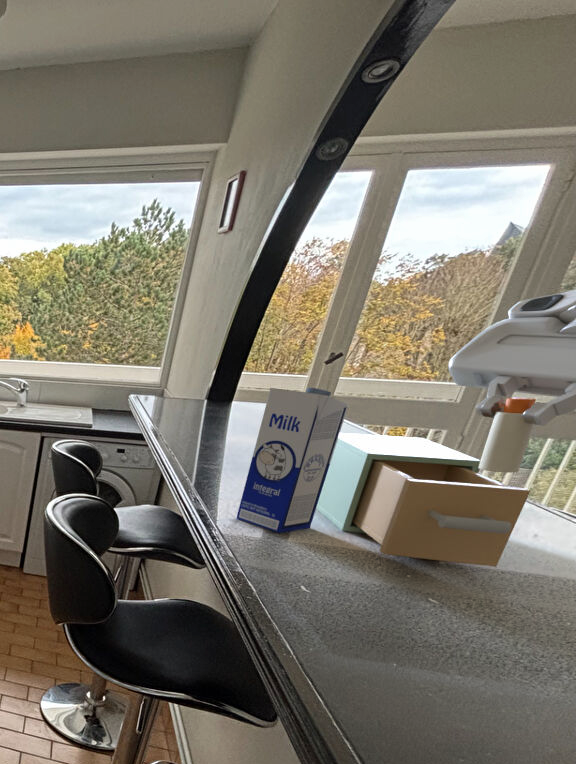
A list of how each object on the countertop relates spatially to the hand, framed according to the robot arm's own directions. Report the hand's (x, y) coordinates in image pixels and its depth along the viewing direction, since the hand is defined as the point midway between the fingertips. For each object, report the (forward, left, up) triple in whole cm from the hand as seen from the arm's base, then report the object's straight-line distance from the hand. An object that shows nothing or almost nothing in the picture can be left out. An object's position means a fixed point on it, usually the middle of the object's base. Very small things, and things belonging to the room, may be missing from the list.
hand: (506, 417), depth 65 cm
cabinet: (0, -21, -19) cm, 28 cm away
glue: (-1, 0, -6) cm, 6 cm away
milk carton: (+15, -14, -19) cm, 28 cm away
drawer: (0, -7, -18) cm, 20 cm away
